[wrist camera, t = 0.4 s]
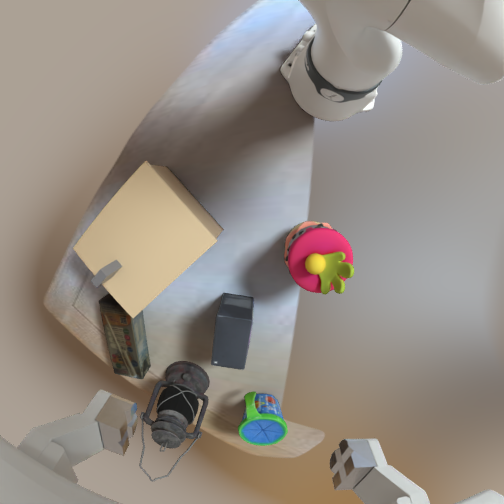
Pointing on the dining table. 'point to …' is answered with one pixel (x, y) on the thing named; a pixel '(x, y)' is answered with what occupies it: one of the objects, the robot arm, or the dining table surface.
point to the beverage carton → (125, 339)
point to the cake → (318, 257)
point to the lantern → (177, 406)
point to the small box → (232, 331)
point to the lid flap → (142, 241)
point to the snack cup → (262, 420)
